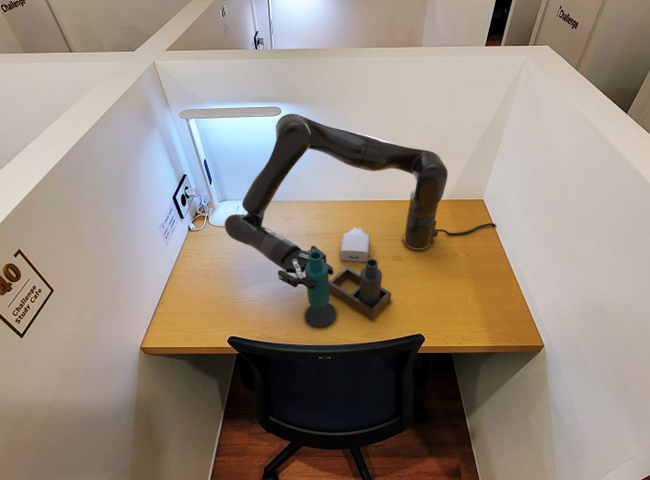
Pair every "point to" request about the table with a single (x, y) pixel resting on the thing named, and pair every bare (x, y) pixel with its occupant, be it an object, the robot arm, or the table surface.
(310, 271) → the teal bottle
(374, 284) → the charcoal bottle
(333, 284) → the caddy
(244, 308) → the table surface
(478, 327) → the table surface
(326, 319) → the coaster
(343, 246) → the charger
